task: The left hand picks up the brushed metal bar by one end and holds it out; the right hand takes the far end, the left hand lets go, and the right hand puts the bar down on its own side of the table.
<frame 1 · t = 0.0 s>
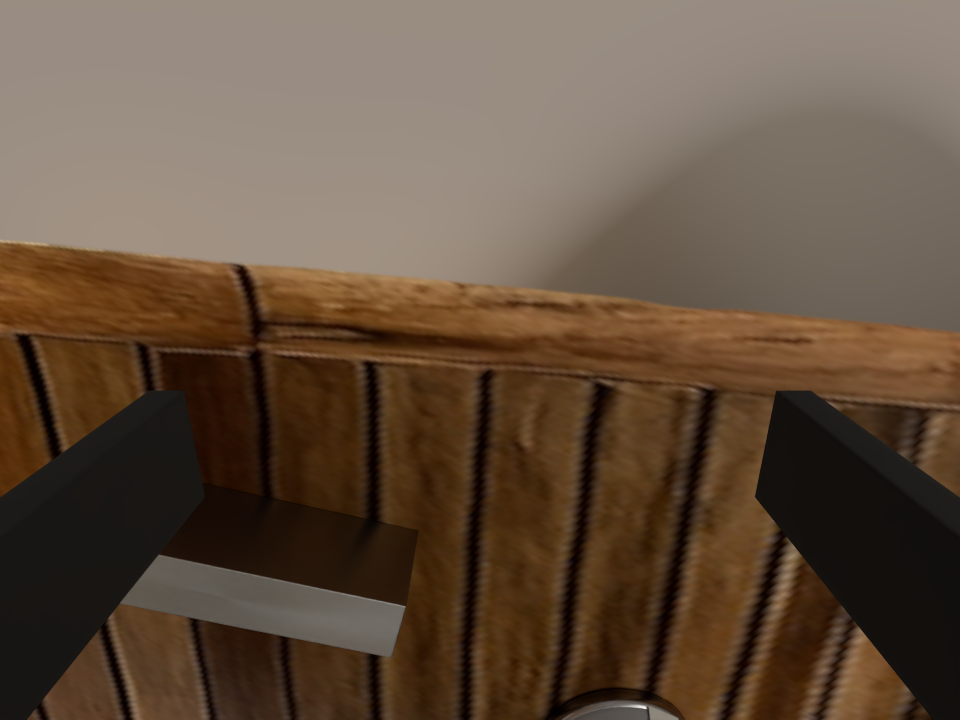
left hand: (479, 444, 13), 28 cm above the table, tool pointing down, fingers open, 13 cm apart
bar: (270, 522, 47), on the table
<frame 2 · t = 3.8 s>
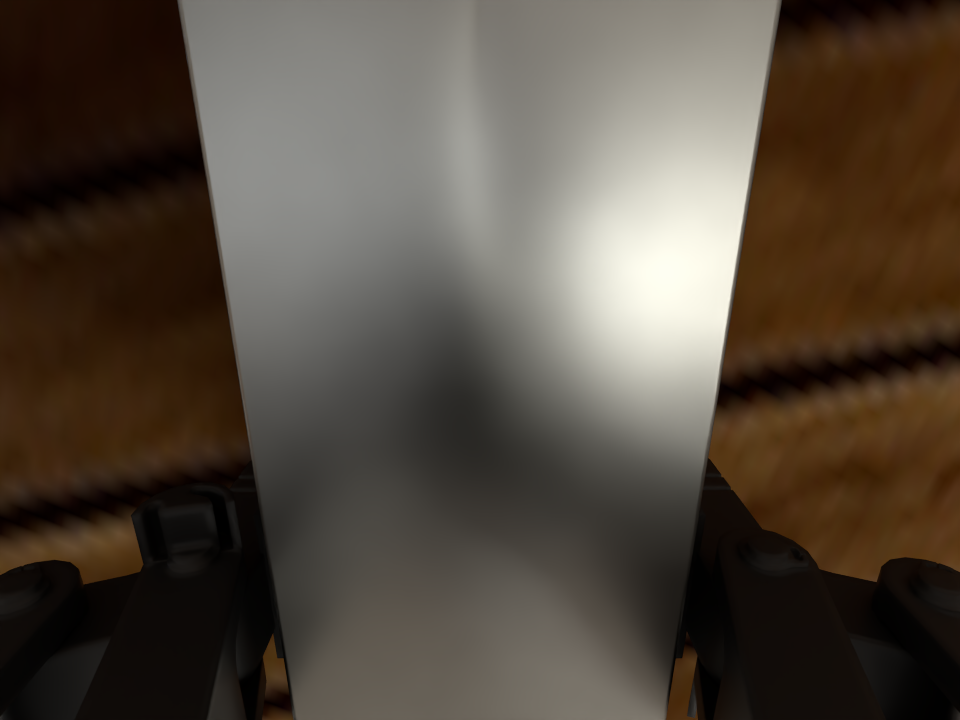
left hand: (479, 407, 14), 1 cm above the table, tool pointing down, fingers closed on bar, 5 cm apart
bar: (479, 81, 12), on the table, touching left hand
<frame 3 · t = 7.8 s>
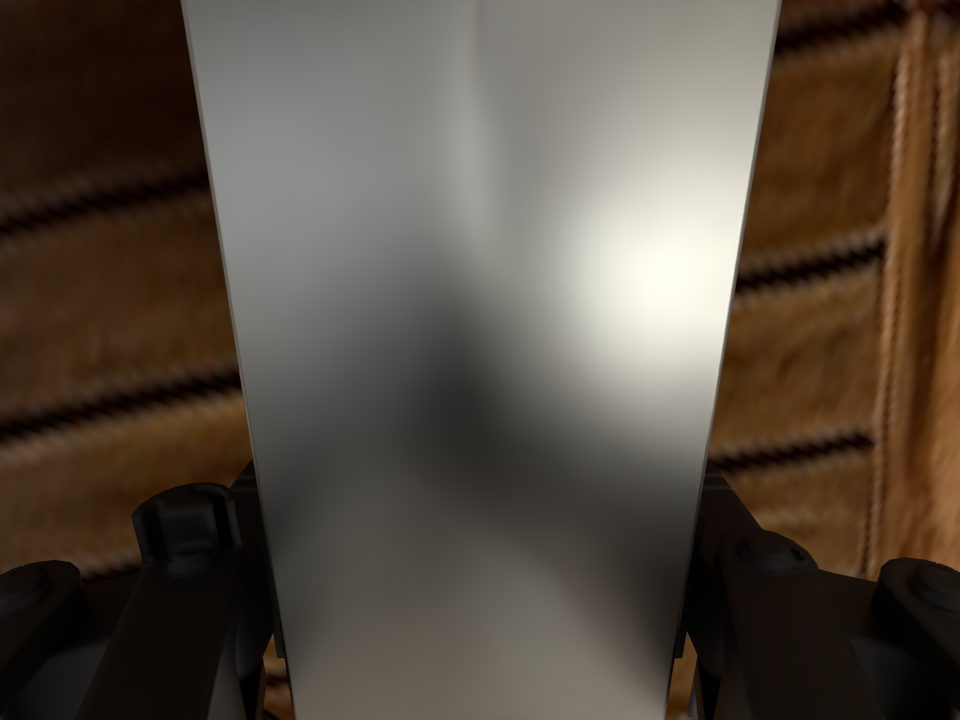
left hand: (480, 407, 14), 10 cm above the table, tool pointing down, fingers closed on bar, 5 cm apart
bar: (480, 80, 12), point 9 cm above the table, touching left hand, right hand
when the left hand's fingers open (10 cm above the table, at t = 8.7 s): bar stays where it is, held by the right hand.
when the right hand's fingers open (4 cm above the table, at t = 13.7 s): bar drops 1 cm, on the table.
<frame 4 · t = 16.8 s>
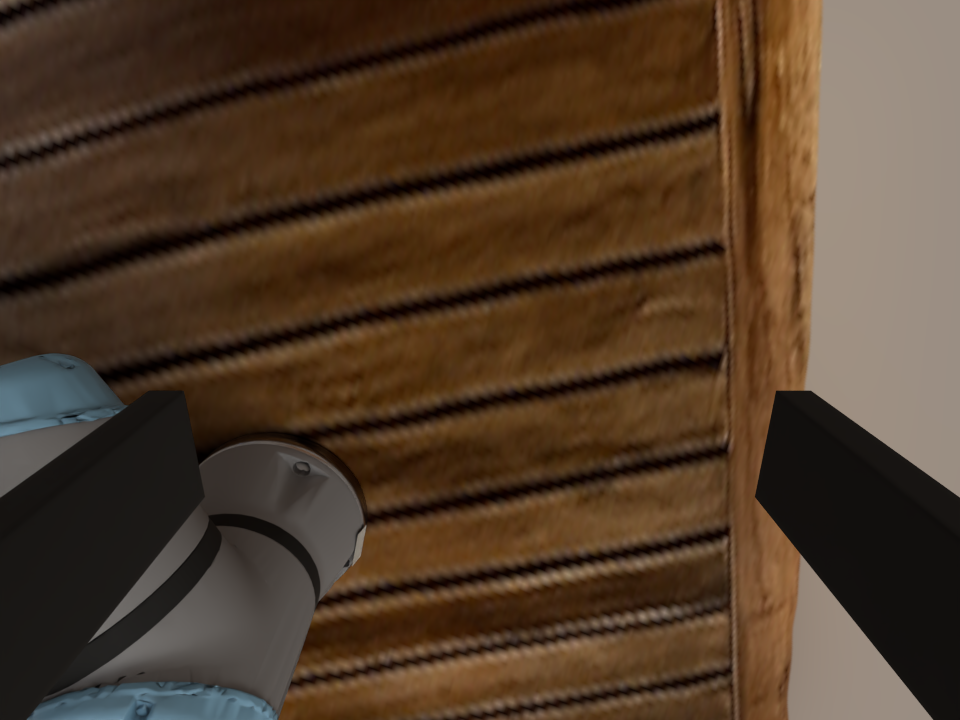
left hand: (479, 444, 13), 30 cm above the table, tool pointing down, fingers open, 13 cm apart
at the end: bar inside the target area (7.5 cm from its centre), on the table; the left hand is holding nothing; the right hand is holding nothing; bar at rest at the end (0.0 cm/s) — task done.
